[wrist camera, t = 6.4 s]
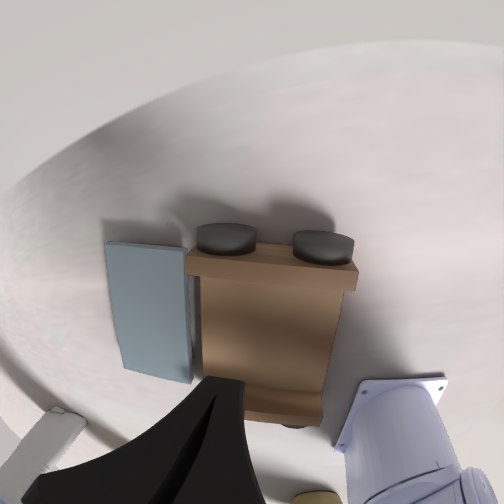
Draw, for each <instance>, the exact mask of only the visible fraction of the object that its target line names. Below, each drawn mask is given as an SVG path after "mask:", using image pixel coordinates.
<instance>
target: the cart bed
mask: <svg viewBox="0 0 504 504" xmlns="http://www.w3.org/2000/svg"><path fill="white" fill-rule="evenodd" d="M353 247H354V240H353V239H351V238H349V237H347V236H344V235H341V234H337V233H332V232H325V231H300V232H297V233H295V234H294V243H293V245H283V244H271V243H260V242H256V229H255V228H253V227H250V226H246V225H241V224H231V223H215V224H206V225H202V226H199V227H198V228H197V246H196V247H195V248H193V249H192V250H191V251H190V252H189V253H187V254H186V255H185V275H192V276H200V292H201V331H202V356H203V375H204V378H205V377H206V376H214V377H221V378H228V379H235V380H242V381H243V382H245V383H246V386H245V416H244V420H249V421H257V422H266V423H275V424H281V425H283V426H285V427H288V428H293V429H299V428H304V427H307V426H320V424H321V421H322V418H323V411H322V395H321V391H322V388H323V384H324V380H325V376H326V372H327V368H328V364H329V360H330V356H331V352H332V348H333V343H334V339H335V334H336V330H337V325H338V320H339V315H340V310H341V305H342V299H343V294H344V290H346V291H355V290H356V285H357V279H358V274H359V271H358V269H357V268H356V266H355V264H354V263H353V261H352V254H353Z"/></svg>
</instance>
